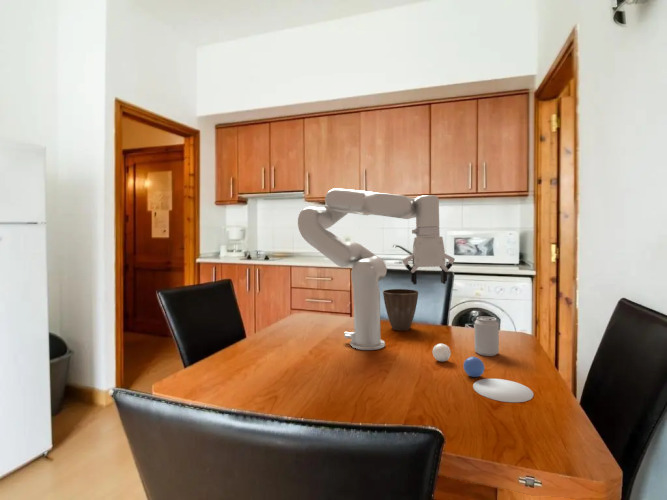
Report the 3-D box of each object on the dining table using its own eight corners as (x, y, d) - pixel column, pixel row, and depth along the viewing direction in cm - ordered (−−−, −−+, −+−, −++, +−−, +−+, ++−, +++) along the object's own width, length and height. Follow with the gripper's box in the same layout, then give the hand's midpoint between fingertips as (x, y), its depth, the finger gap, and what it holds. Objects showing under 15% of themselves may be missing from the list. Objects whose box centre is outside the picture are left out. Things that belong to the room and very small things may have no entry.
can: (501, 357, 119) (501, 320, 119) (476, 356, 121) (476, 319, 120) (495, 350, 127) (495, 315, 126) (472, 349, 128) (472, 315, 128)
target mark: (471, 397, 91) (471, 396, 91) (474, 376, 104) (474, 375, 104) (536, 406, 85) (536, 405, 85) (530, 383, 98) (530, 382, 98)
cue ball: (431, 362, 115) (431, 345, 115) (433, 357, 120) (433, 340, 120) (449, 365, 113) (449, 347, 113) (451, 359, 118) (451, 342, 118)
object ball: (462, 378, 102) (462, 359, 102) (464, 371, 108) (464, 353, 107) (484, 381, 100) (484, 361, 100) (484, 374, 105) (484, 355, 105)
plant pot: (383, 323, 167) (382, 288, 166) (417, 324, 165) (416, 288, 164) (383, 332, 152) (382, 293, 151) (420, 333, 150) (420, 294, 149)
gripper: (404, 233, 120) (405, 285, 121) (457, 231, 120) (458, 284, 121) (400, 233, 128) (401, 283, 128) (450, 232, 128) (451, 281, 128)
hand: (428, 283), depth 124 cm, fingers open, 9 cm apart
